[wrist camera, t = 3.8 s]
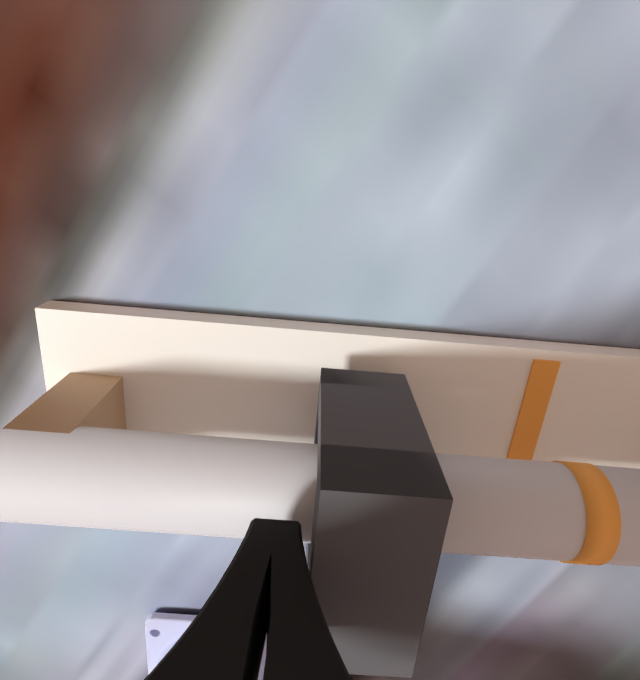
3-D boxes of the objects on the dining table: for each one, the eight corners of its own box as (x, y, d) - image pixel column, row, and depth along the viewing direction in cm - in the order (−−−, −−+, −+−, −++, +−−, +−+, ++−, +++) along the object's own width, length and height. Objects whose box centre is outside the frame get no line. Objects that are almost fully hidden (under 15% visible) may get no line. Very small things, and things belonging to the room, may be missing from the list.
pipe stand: (706, 519, 21) (861, 662, 15) (71, 473, 21) (-34, 604, 14) (783, 361, 18) (1012, 459, 12) (49, 300, 18) (-94, 373, 12)
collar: (382, 508, 19) (411, 678, 13) (308, 502, 19) (301, 671, 12) (404, 374, 17) (453, 499, 10) (321, 367, 16) (320, 489, 10)
